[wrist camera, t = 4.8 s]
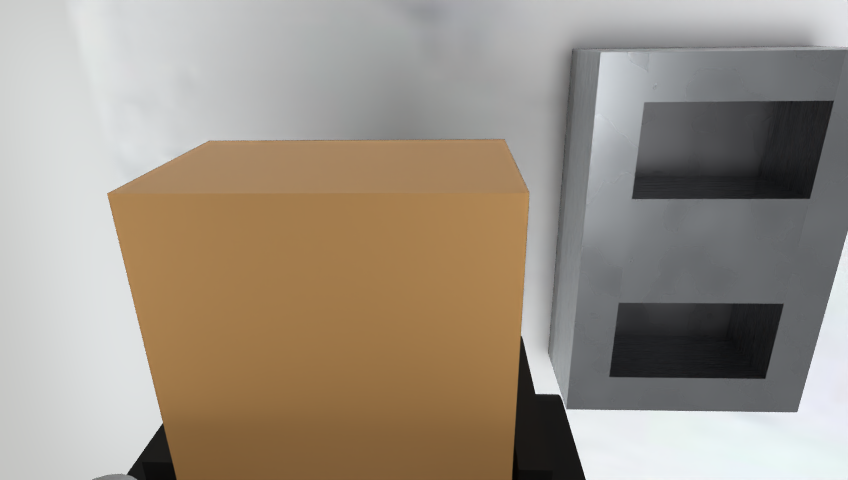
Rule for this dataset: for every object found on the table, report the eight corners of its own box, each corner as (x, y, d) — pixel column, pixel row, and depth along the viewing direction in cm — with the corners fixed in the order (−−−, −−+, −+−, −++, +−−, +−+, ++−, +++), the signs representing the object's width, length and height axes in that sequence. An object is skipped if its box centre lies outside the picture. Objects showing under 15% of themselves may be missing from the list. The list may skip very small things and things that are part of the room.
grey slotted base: (572, 49, 23) (600, 52, 19) (814, 46, 23) (898, 48, 19) (548, 353, 28) (566, 409, 24) (744, 355, 28) (796, 412, 24)
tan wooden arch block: (276, 105, 13) (107, 193, 7) (488, 104, 13) (529, 193, 6) (320, 486, 18) (245, 761, 11) (476, 489, 17) (494, 772, 11)
